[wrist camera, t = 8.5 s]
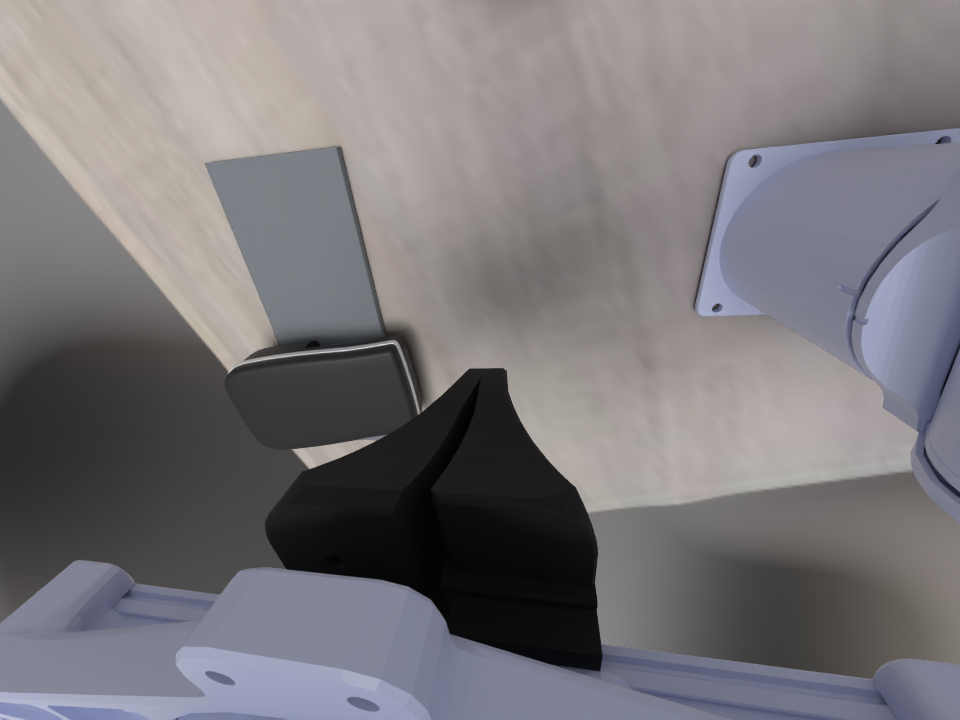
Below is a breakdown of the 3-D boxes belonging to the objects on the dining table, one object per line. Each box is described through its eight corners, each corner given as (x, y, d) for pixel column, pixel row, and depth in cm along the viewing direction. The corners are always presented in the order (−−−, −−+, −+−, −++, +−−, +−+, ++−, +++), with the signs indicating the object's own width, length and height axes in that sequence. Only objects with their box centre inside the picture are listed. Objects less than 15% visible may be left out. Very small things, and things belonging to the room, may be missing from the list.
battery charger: (406, 319, 23) (245, 343, 23) (395, 344, 20) (208, 371, 20) (428, 402, 26) (287, 421, 27) (422, 435, 23) (261, 456, 23)
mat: (340, 147, 18) (335, 146, 17) (410, 436, 27) (408, 441, 27) (212, 163, 19) (204, 163, 19) (321, 434, 29) (317, 438, 28)
